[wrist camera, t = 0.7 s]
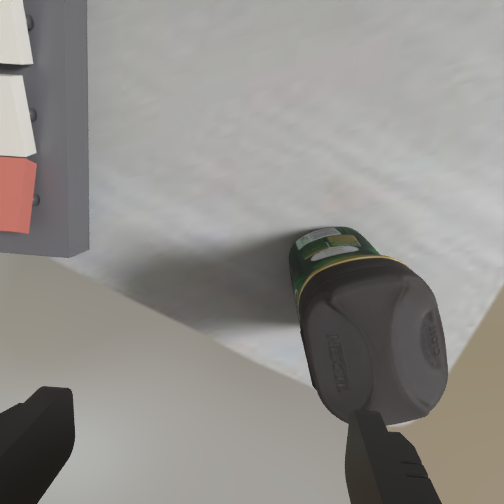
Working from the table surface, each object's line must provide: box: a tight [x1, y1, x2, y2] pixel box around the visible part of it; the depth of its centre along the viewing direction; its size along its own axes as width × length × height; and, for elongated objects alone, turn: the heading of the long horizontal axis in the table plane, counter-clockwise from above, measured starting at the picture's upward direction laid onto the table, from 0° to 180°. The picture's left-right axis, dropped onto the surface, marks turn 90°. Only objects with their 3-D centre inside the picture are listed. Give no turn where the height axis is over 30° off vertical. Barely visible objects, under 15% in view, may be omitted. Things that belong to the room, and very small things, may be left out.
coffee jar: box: [289, 227, 448, 426], centre depth 30 cm, size 10×8×19 cm
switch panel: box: [0, 0, 89, 258], centre depth 35 cm, size 24×9×5 cm, turn 176°
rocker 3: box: [0, 157, 37, 234], centre depth 33 cm, size 6×4×2 cm, turn 176°
